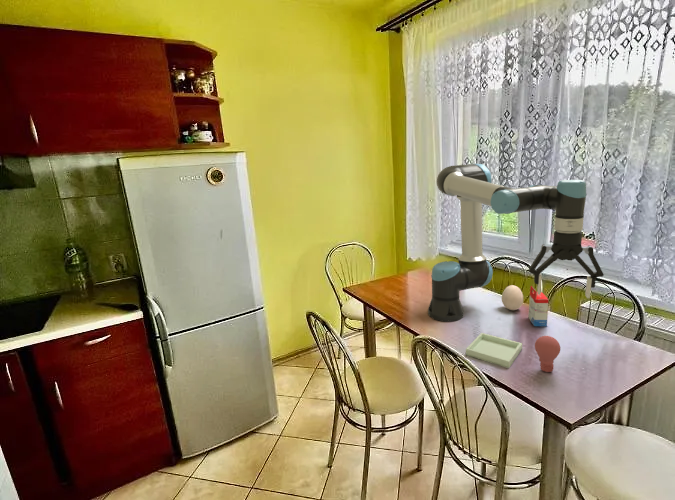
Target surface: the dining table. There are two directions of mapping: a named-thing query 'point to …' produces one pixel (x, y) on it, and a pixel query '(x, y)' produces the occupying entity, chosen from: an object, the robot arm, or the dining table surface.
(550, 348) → the light bulb
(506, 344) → the tray
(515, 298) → the egg
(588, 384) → the dining table surface
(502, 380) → the dining table surface
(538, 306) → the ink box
